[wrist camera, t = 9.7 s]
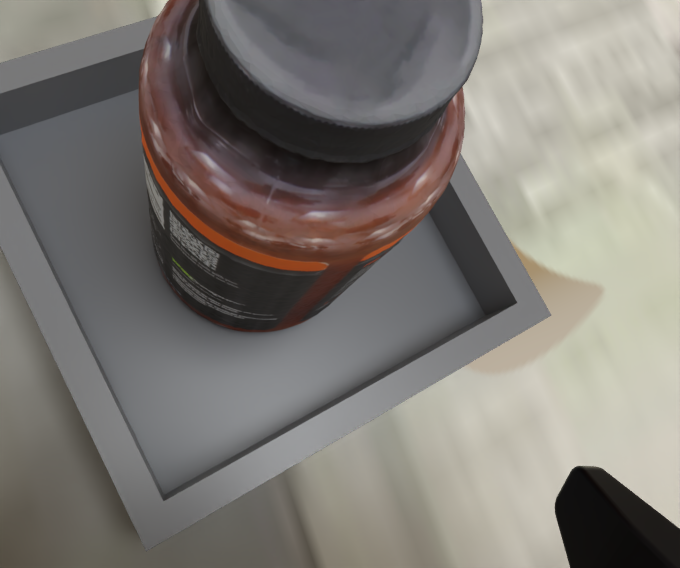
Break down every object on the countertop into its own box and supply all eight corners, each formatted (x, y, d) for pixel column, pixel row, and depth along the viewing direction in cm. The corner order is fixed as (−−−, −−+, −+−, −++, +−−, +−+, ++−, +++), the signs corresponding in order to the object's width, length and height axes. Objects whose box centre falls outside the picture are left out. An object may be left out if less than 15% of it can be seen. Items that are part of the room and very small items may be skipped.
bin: (150, 533, 18) (146, 551, 15) (-40, 139, 19) (-77, 85, 16) (501, 331, 22) (551, 315, 19) (328, 18, 23) (351, -42, 20)
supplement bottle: (362, 174, 21) (570, -108, 10) (333, 355, 19) (542, 248, 8) (176, 124, 20) (186, -257, 9) (127, 313, 18) (68, 125, 7)
